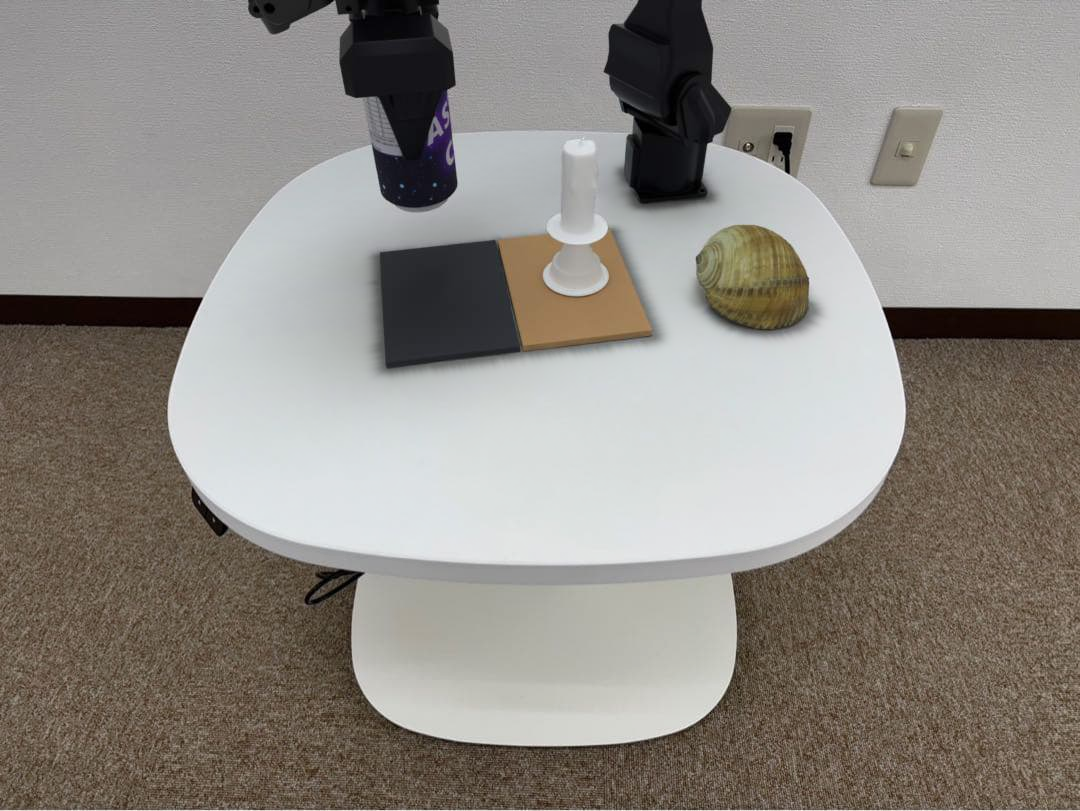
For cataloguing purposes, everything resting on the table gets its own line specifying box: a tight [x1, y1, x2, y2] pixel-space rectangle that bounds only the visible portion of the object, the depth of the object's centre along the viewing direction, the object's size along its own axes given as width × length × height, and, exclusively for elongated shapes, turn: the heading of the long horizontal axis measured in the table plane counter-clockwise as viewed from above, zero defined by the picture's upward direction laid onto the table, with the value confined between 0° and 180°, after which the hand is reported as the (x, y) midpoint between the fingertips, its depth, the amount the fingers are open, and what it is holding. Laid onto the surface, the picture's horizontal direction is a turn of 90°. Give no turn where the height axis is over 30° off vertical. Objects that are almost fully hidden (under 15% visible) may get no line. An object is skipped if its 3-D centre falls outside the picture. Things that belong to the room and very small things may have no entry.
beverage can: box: [362, 90, 459, 213], centre depth 55 cm, size 6×6×12 cm
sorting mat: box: [379, 227, 653, 369], centre depth 64 cm, size 20×14×1 cm
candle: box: [543, 136, 609, 297], centre depth 60 cm, size 5×5×12 cm
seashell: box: [695, 224, 810, 331], centre depth 62 cm, size 10×7×8 cm
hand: (410, 138), depth 56 cm, fingers closed on beverage can, 6 cm apart
